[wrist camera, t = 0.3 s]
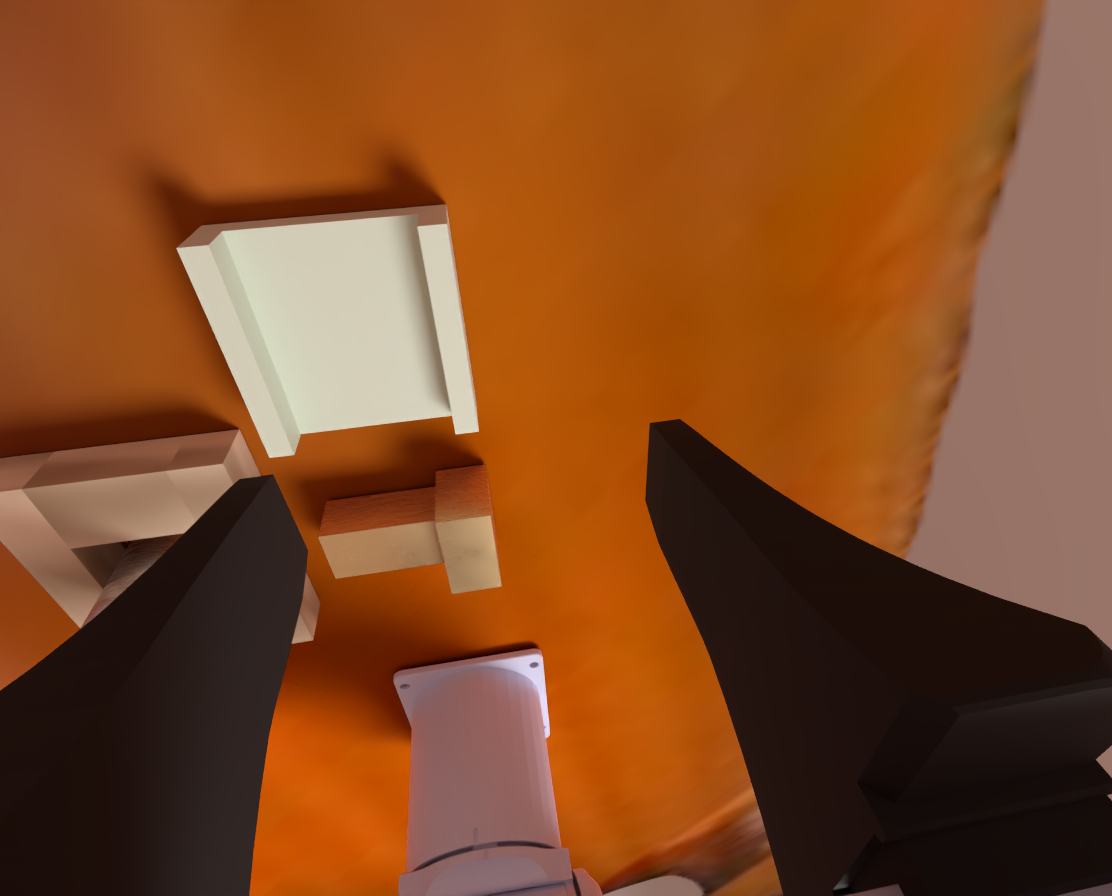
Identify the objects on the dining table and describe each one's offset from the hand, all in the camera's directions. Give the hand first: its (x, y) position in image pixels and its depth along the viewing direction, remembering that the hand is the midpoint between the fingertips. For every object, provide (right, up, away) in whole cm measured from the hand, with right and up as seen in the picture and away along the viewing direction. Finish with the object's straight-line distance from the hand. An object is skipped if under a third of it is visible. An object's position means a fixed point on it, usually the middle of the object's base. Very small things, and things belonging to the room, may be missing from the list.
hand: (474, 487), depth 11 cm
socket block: (-14, -3, +12) cm, 18 cm away
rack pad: (-5, +5, +8) cm, 10 cm away
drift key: (-5, -2, +13) cm, 14 cm away
